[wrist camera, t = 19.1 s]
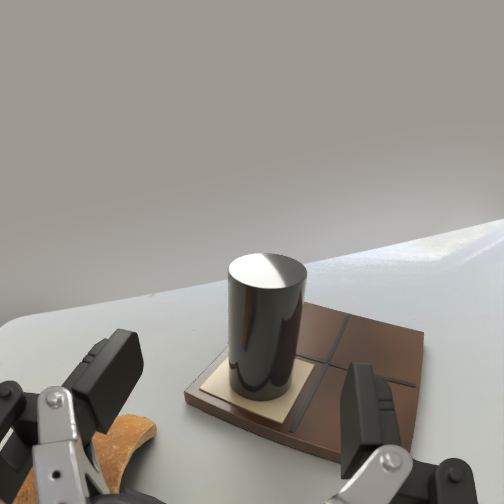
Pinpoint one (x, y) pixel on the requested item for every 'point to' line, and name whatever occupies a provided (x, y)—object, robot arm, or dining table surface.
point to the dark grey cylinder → (264, 323)
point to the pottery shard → (106, 453)
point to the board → (321, 382)
